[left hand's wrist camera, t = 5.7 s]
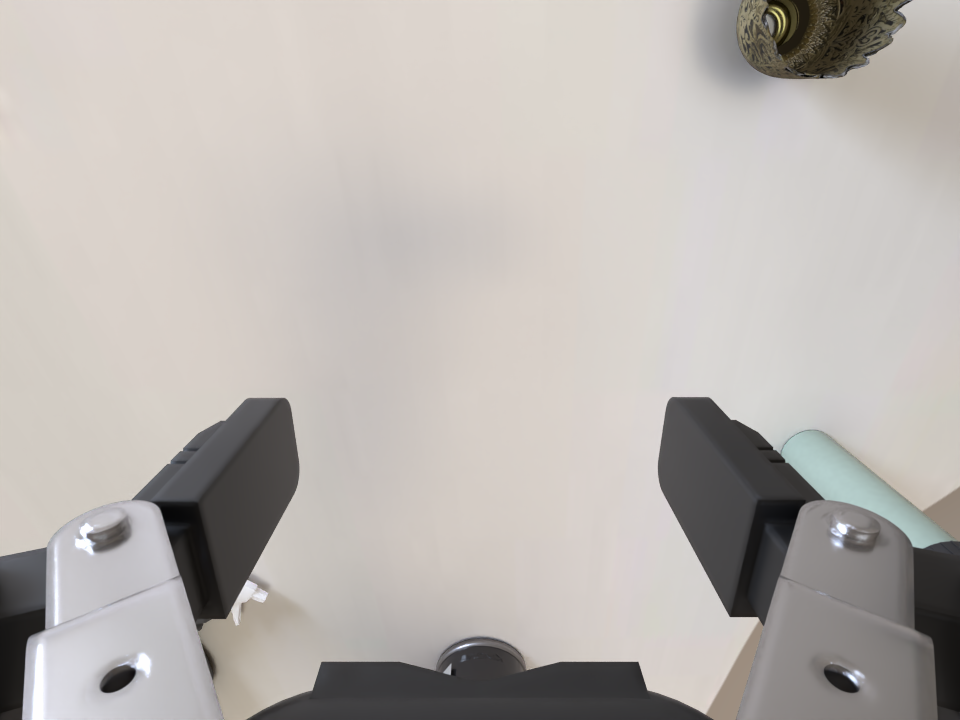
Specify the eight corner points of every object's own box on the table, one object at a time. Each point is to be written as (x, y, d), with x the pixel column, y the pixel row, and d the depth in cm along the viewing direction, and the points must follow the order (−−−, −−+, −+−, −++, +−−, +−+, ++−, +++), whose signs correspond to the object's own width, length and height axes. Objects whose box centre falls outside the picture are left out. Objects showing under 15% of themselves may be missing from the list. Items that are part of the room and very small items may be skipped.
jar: (841, 435, 45) (1009, 566, 30) (818, 477, 46) (967, 621, 32) (794, 425, 44) (941, 552, 30) (772, 468, 46) (902, 608, 32)
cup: (681, 60, 34) (738, 34, 27) (749, -66, 32) (832, -133, 24) (775, 113, 35) (854, 103, 28) (847, -4, 33) (955, -50, 25)
